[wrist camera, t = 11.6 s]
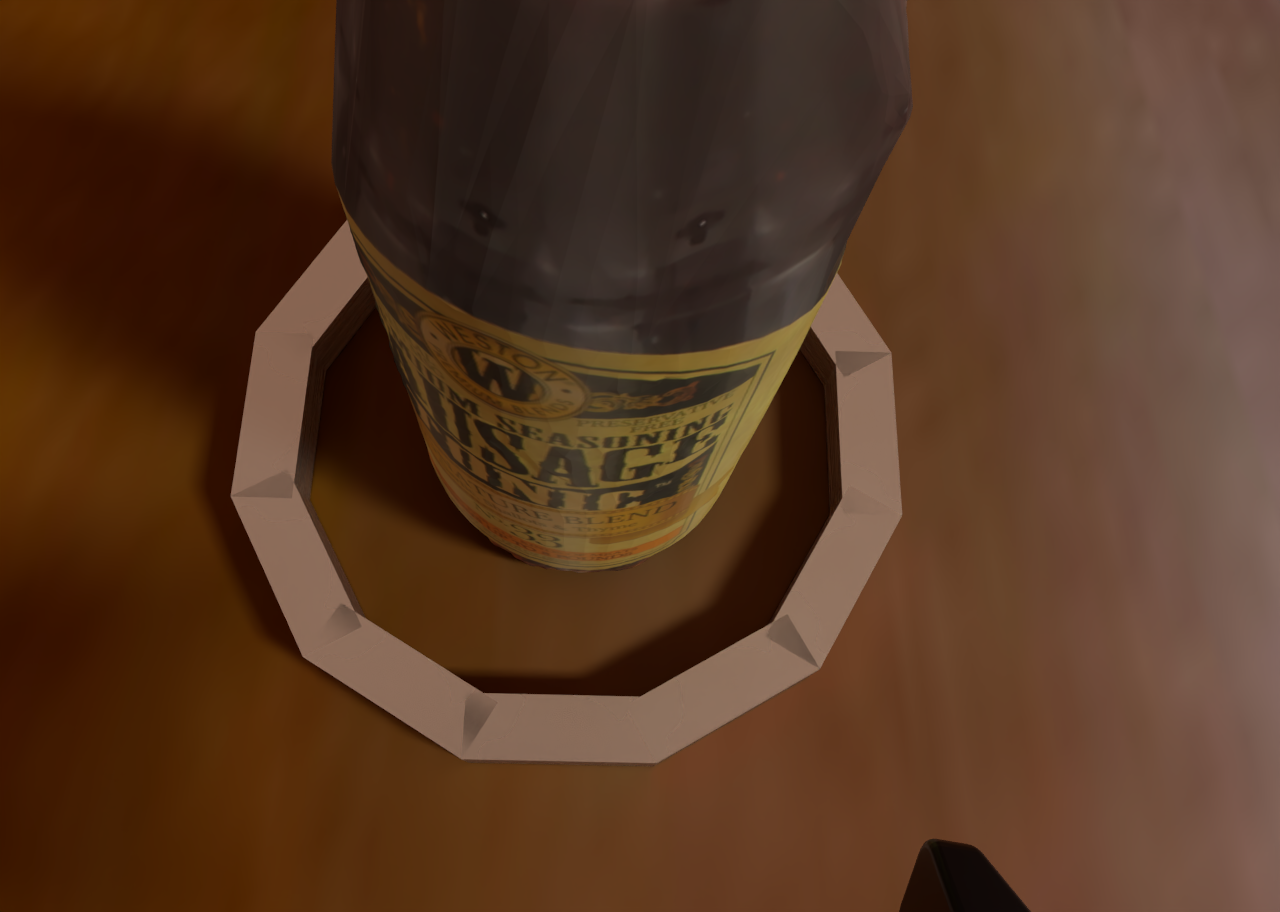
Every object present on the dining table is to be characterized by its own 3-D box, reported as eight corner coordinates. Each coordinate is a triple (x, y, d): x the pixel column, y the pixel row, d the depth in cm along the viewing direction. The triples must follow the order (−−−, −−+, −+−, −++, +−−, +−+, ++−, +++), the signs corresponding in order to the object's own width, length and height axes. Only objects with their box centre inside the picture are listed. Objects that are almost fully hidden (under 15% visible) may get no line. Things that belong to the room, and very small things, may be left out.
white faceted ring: (424, 897, 20) (413, 903, 18) (164, 324, 23) (142, 299, 22) (1003, 564, 22) (1025, 550, 21) (688, 94, 26) (692, 61, 25)
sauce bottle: (389, 518, 22) (-854, -1286, 3) (518, 276, 24) (235, -1718, 5) (677, 644, 21) (1293, -655, 2) (785, 385, 23) (1585, -1428, 4)
